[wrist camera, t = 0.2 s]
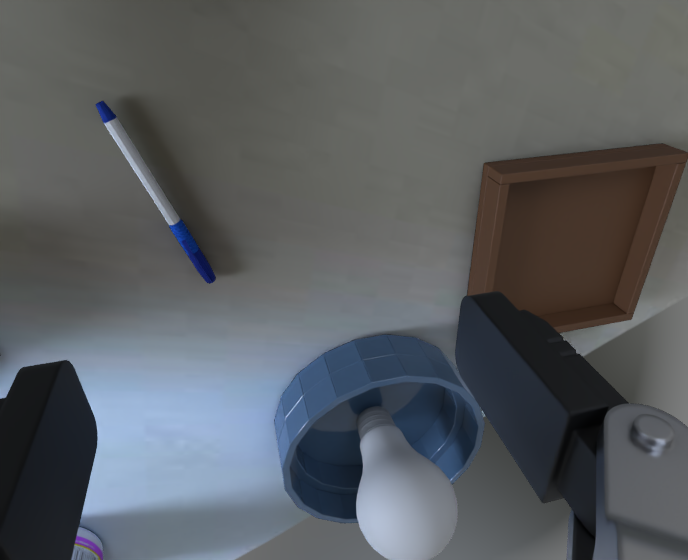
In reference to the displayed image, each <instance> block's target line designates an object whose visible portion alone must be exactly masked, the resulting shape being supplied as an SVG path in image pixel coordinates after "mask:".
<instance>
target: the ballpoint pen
mask: <svg viewBox="0 0 688 560" xmlns="http://www.w3.org/2000/svg"><path fill="white" fill-rule="evenodd" d="M96 107H97V109H98V111H99V114H100V116H101V118H102V120H103V123H104V124H105V126H106V127H107V129H108V130H109V132H110V134H111V135H112V137H113V138H114V140H115V141H116V143H117V145H118V146H119V148H120V149H121V151H122V152H123V154H124V155H125V157H126V159H127V160H128V162H129V163H130V165H131V166H132V168H133V169H134V171H135V173H136V174H137V176H138V177H139V179H140V180H141V182H142V184H143V185H144V187H145V188H146V190H147V191H148V193H149V194H150V196H151V198H152V199H153V201H154V202H155V204H156V205H157V207H158V208H159V210H160V212H161V213H162V215H163V216H164V218H165V219H166V221H167V222H168V224H169V228H170V229H171V231H172V232H173V234H174V235H175V237H176V238H177V240H178V241H179V243H180V244H181V246H182V247H183V249H184V250H185V252H186V253H187V255H188V257H189V258H190V260H191V261H192V263H193V264H194V266H195V268H196V269H197V271H198V272H199V273H200V275H201V276H202V277H203V278H204V280H205V281H206V282H207V283H209V284H210V283H213V282H214V281H215V279H216V277H215V275H214V272H213V270H212V268H211V266H210V265H209V263H208V261H207V260H206V258H205V256H204V255H203V253H202V252H201V250H200V248H199V247H198V245H197V244H196V242H195V240H194V239H193V237H192V236H191V234H190V232H189V230H188V229H187V227H186V226H185V224H184V223H183V221H182V220H181V219H180V218H179V216H178V215H177V213H176V211H175V210H174V208H173V207H172V205H171V203H170V202H169V200H168V199H167V197H166V195H165V194H164V192H163V190H162V189H161V187H160V186H159V184H158V182H157V181H156V179H155V178H154V176H153V174H152V173H151V171H150V170H149V168H148V166H147V165H146V163H145V162H144V160H143V158H142V157H141V155H140V153H139V152H138V150H137V149H136V147H135V145H134V144H133V142H132V141H131V139H130V137H129V136H128V134H127V133H126V131H125V129H124V128H123V126H122V124H121V123H120V121H119V120H118V118H117V117H116V115H115V114H114V113H113V112H112V111H111V109H110V108H109V107H108V106H107V105H106V104H105V102H104V101H101V102H99V103H97V104H96Z"/></svg>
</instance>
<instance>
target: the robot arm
mask: <svg viewBox="0 0 688 560" xmlns="http://www.w3.org/2000/svg"><path fill="white" fill-rule="evenodd" d="M455 357H456V364H457V368H458V371H459V374H460V376H461V378H462V379H463V381H464V383H465V384H466V386H467V387H468V389H469V390H470V392H471V393H472V395H473V396H474V398H475V400H476V401H477V403H478V404H479V406H480V407H481V409H482V410H483V412H484V414H485V415H486V417H487V418H488V420H489V421H490V423H491V424H492V426H493V427H494V429H495V431H496V432H497V434H498V435H499V437H500V438H501V440H502V441H503V443H504V444H505V446H506V448H507V449H508V451H509V452H510V454H511V455H512V457H513V458H514V460H515V462H516V463H517V464H518V466H519V468H520V469H521V471H522V472H523V474H524V475H525V477H526V479H527V480H528V482H529V483H530V485H531V486H532V488H533V489H534V491H535V492H536V494H537V496H538V497H539V499H540V500H541V502H542V503H547V502H551V501H555V500H559V499H562V498H565V500H566V501H567V502H568V504H569V506H570V507H571V508H572V510H571V513H570V516H569V524H568V541H567V559H566V560H688V427H687V426H686V425H685V424H683V423H682V422H681V421H679V420H678V419H677V418H675V417H674V416H672V415H670V414H668V413H666V412H664V411H662V410H660V409H657V408H654V407H651V406H648V405H642V404H633V403H630V404H629V403H628V402H627V401H626V400H625V399H624V398H623V397H622V396H621V395H620V394H619V393H618V392H617V391H616V390H615V389H614V388H613V387H612V386H611V385H610V384H609V383H608V382H607V381H606V380H605V379H604V378H603V377H602V376H601V375H600V374H599V373H598V372H597V371H596V370H595V369H594V368H593V367H592V366H591V365H590V364H589V363H588V362H587V361H586V360H585V359H584V358H583V357H582V356H581V355H580V354H577V353H576V350H575V349H574V348H573V347H572V346H571V345H570V344H569V343H568V342H567V341H564V340H563V337H562V336H561V335H560V334H559V333H558V332H557V331H556V330H555V329H554V328H553V327H552V326H551V325H550V324H549V323H548V322H547V321H545V320H543V319H542V318H540V317H538V316H536V315H534V314H532V313H531V312H529V311H527V310H518V309H517V308H516V307H515V306H514V305H513V304H512V303H511V302H510V301H509V300H508V299H507V298H506V296H505V295H504V294H502V293H501V292H499V291H494V292H488V293H482V294H476V295H470V296H465V297H464V298H463V300H462V302H461V307H460V316H459V324H458V332H457V341H456V349H455ZM96 448H97V427H96V421H95V418H94V415H93V412H92V410H91V408H90V405H89V403H88V400H87V398H86V395H85V393H84V391H83V388H82V386H81V383H80V381H79V379H78V376H77V374H76V371H75V369H74V367H73V365H72V364H71V363H70V362H69V361H67V360H64V361H58V362H52V363H46V364H40V365H34V366H28V367H23V368H21V369H20V370H19V372H18V373H17V375H16V378H15V380H14V382H13V384H12V386H11V388H10V390H9V392H8V394H7V397H6V398H2V399H0V560H71V558H72V554H73V550H74V545H75V541H76V536H77V532H78V528H79V523H80V519H81V515H82V510H83V506H84V501H85V497H86V493H87V488H88V484H89V480H90V475H91V471H92V466H93V462H94V458H95V453H96Z"/></svg>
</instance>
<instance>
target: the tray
mask: <svg viewBox="0 0 688 560" xmlns="http://www.w3.org/2000/svg"><path fill="white" fill-rule="evenodd" d="M687 159H688V152H685V151H682V150H679V149H677V148H674V147H671V146H668V145H666V144H663V143H662V144H653V145H644V146H635V147H626V148H616V149H607V150H598V151H589V152H580V153H571V154H562V155H552V156H543V157H534V158H525V159H516V160H507V161H498V162H488V163H484V168H483V175H482V183H481V191H480V199H479V207H478V215H477V222H476V230H475V238H474V246H473V254H472V262H471V269H470V277H469V285H468V293H467V296H470V295H476V294H482V293H488V292H494V291H499V292H501V293H502V294H504V295H505V296H506V298H507V299H508V300H509V301H510V302H511V303H512V304H513V305H514V306H515V307H516V308H517V309H518V310H527V311H529V312H531V313H532V314H534V315H536V316H538V317H540V318H542V319H543V320H545V321H547V322H548V323H549V324H550V325H551V326H552V327H553V328H554V329H555V330H556V331H557V332H558V333H561V332H567V331H572V330H578V329H583V328H588V327H594V326H599V325H605V324H610V323H615V322H621V321H626V320H631V319H632V317H633V314H634V311H635V308H636V305H637V302H638V299H639V297H640V294H641V291H642V288H643V285H644V282H645V279H646V276H647V274H648V271H649V268H650V265H651V262H652V259H653V256H654V254H655V251H656V248H657V245H658V242H659V239H660V236H661V233H662V231H663V228H664V225H665V222H666V219H667V216H668V213H669V211H670V208H671V205H672V202H673V199H674V196H675V193H676V190H677V188H678V185H679V182H680V179H681V176H682V173H683V170H684V168H685V165H686V162H687Z"/></svg>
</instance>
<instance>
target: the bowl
mask: <svg viewBox="0 0 688 560" xmlns="http://www.w3.org/2000/svg"><path fill="white" fill-rule="evenodd" d="M373 406H379V407H383V408H385V409H386V410H387V411H388V412H389V414H390V416H391V418H392V420H393V422H394V424H395V425H396V427H398V428H399V429H400V430H401V431H402V433H403V435H404V437H405V439H406V440H407V442H408V443H409V444H410V446H411V447H412V448H413V449H414V450H415V451H416V452H417V453H419V454H421V455H422V456H424V457H426V458H427V459H429V460H430V461H431V462H433V463H434V464H435V465H437V466H438V467H439V468H440V469H441V470H442V471H443V473H444V474H445V475H446V476H447V478H448V479H449V480H450V482H451V484H453V483H454V482H455V481H456V480H457V479H458V478H459V477H460V476H461V475H462V474H463V473H464V472H465V471H466V470H467V469H468V467H469V466H470V464H471V462H472V461H473V459H474V457H475V456H476V454H477V452H478V450H479V449H480V447H481V443H482V437H483V432H484V426H485V423H484V419H483V415H482V412H481V408H480V406H479V404H478V403H477V401H476V400H475V398H474V396H473V395H472V393H471V392H470V390H469V389H468V387H467V386H466V384H465V383H464V381H463V379H462V378H461V376H460V374H459V372H458V370H457V369H456V367H455V366H454V364H453V363H452V362H451V361H450V360H449V359H448V357H447V356H446V355H445V354H444V353H443V352H442V351H441V350H440V349H439V348H438V347H436V346H433V345H431V344H429V343H427V342H425V341H422V340H420V339H418V338H415V337H407V336H397V335H380V336H374V337H368V338H362V339H357V340H353V341H351V342H349V343H346V344H344V345H342V346H339V347H337V348H335V349H333V350H330V351H328V352H326V353H324V354H322V355H321V356H320V357H319V358H317V359H316V360H315V361H313V362H312V363H311V364H310V365H308V366H307V367H306V368H304V369H303V370H302V371H300V372H299V373H298V374H297V375H296V377H295V378H294V380H293V381H292V382H291V384H290V385H289V386H288V388H287V389H286V391H285V392H284V393H283V395H282V397H281V399H280V403H279V406H278V410H277V413H276V416H275V420H274V422H275V429H276V436H277V443H278V449H279V456H280V462H281V468H282V474H283V481H284V487H285V491H286V492H287V493H288V495H289V496H290V497H291V499H292V500H293V501H294V503H295V504H296V505H297V507H298V508H300V509H302V510H304V511H305V512H307V513H309V514H311V515H313V516H314V517H316V518H319V519H323V520H329V521H334V522H339V523H359V522H358V519H357V513H356V500H357V494H358V489H359V484H360V481H361V477H362V473H363V461H362V454H361V450H360V442H361V439H360V436H359V433H358V428H357V423H356V422H357V418H358V416H359V415H360V413H361V412H362V411H364V410H365V409H367V408H369V407H373Z"/></svg>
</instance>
